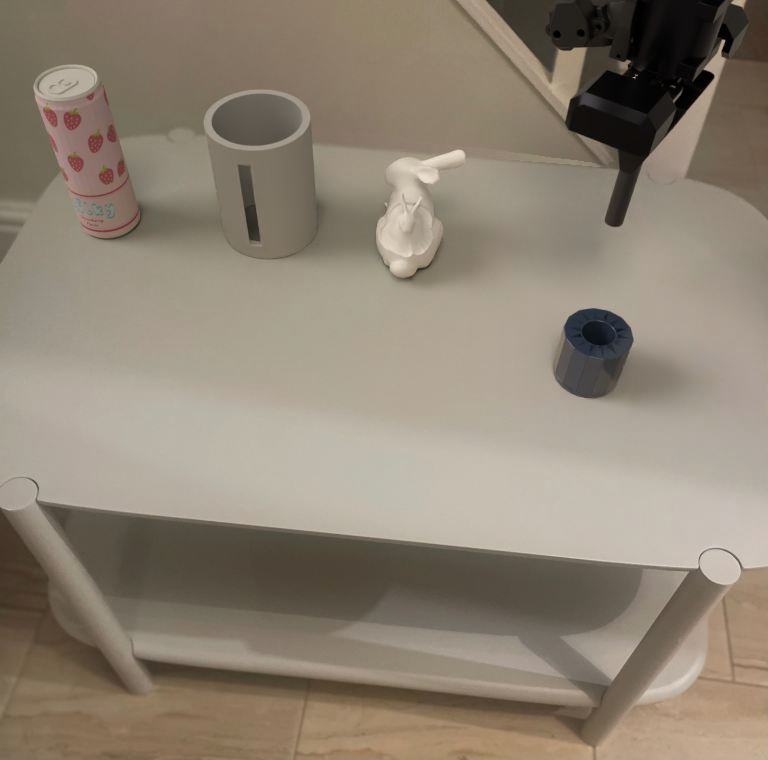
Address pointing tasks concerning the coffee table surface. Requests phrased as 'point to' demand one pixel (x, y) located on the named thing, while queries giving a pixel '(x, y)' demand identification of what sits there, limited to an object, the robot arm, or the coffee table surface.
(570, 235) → the coffee table surface
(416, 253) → the rabbit figurine
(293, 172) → the cup
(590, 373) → the pen cup
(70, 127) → the beverage can
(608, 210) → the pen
